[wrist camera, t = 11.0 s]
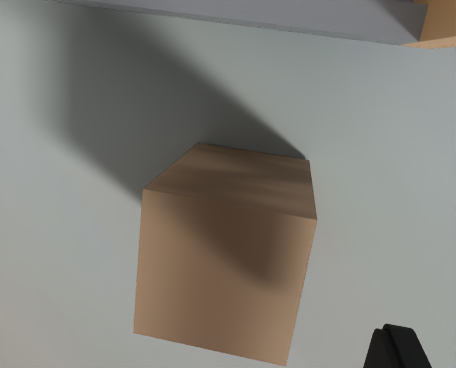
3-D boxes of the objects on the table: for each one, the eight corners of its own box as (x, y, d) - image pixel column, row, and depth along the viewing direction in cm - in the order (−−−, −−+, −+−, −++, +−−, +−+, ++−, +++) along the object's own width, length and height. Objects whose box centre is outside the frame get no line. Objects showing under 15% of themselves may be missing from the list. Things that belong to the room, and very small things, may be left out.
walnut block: (309, 160, 18) (317, 220, 11) (289, 261, 19) (285, 366, 13) (198, 142, 18) (142, 188, 12) (187, 241, 20) (133, 332, 13)
